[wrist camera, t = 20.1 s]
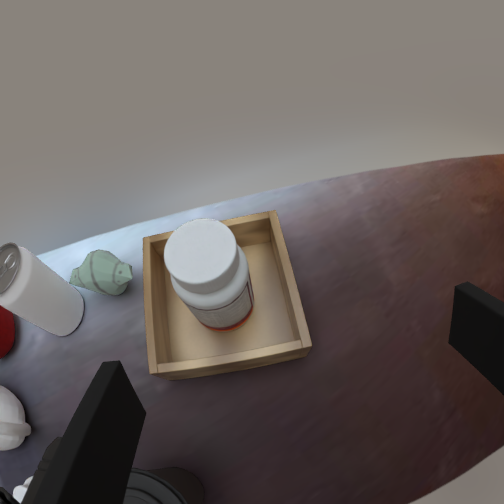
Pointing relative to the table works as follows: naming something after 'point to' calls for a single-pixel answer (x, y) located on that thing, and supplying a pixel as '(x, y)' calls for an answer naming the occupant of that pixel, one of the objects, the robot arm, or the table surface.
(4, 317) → the apple
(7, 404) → the cat figurine
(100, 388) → the robot arm
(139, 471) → the coffee cup
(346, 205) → the table surface
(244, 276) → the pill bottle
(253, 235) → the holder
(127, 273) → the green rounded faceted piece
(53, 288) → the can
